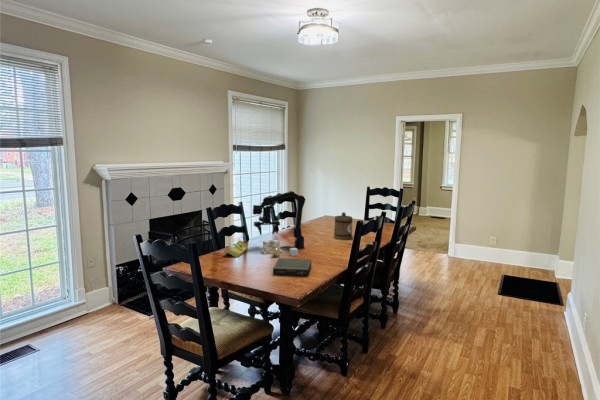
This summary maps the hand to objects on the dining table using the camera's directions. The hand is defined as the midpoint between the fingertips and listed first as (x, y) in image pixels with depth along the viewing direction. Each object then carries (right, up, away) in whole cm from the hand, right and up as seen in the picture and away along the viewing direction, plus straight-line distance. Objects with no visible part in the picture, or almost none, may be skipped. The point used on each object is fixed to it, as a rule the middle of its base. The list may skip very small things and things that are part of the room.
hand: (266, 234), depth 277 cm
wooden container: (+61, -6, +38) cm, 72 cm away
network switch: (+20, -18, -49) cm, 56 cm away
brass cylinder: (+8, -13, -20) cm, 25 cm away
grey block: (+20, -13, -15) cm, 29 cm away
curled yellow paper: (-20, -12, -13) cm, 27 cm away
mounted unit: (+9, -11, -7) cm, 16 cm away
